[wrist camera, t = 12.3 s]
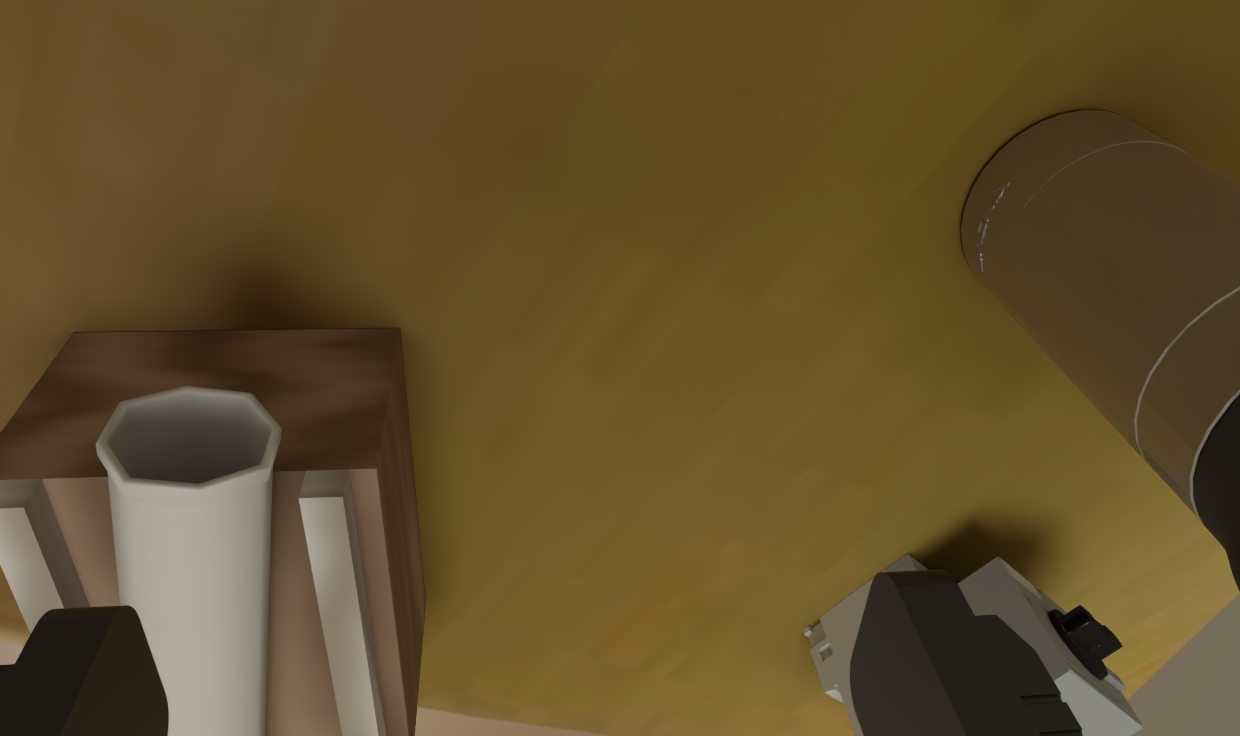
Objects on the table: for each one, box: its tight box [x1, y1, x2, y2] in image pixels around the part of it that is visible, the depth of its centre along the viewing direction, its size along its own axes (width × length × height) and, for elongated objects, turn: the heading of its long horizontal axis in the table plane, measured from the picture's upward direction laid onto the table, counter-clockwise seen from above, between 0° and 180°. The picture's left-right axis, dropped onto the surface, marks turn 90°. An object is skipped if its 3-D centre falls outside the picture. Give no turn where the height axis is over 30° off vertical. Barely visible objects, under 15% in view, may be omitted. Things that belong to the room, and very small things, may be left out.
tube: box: [96, 386, 282, 736], centre depth 36 cm, size 5×5×25 cm
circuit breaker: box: [803, 554, 1143, 736], centre depth 50 cm, size 8×14×15 cm, turn 136°
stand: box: [0, 328, 426, 736], centre depth 42 cm, size 14×18×12 cm
